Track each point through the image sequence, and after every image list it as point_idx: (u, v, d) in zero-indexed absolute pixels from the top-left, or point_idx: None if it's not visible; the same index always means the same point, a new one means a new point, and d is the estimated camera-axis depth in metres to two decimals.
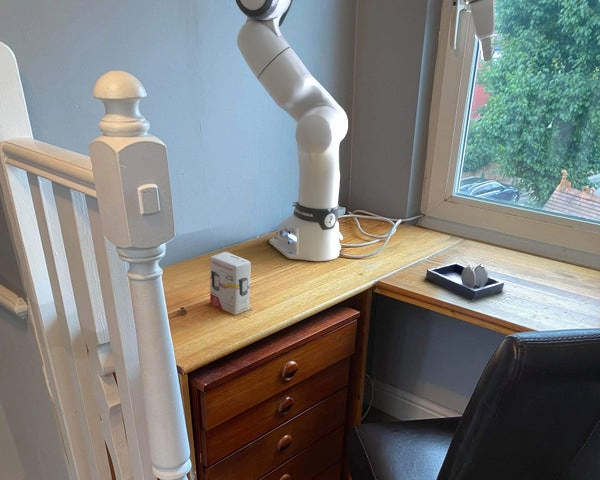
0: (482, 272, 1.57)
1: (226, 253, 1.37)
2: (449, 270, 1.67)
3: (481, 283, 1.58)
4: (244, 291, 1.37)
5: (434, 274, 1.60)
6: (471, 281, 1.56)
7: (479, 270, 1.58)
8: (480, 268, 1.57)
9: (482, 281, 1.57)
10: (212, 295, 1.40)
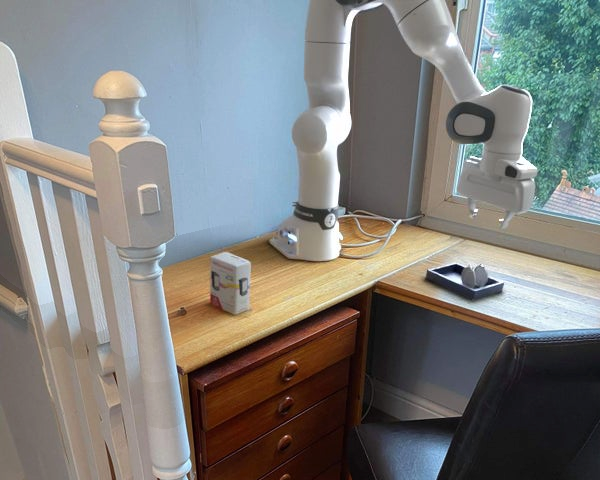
0: (482, 272, 1.57)
1: (226, 253, 1.37)
2: (449, 270, 1.67)
3: (481, 283, 1.58)
4: (244, 291, 1.37)
5: (434, 274, 1.60)
6: (471, 281, 1.56)
7: (479, 270, 1.58)
8: (480, 268, 1.57)
9: (482, 281, 1.57)
10: (212, 295, 1.40)
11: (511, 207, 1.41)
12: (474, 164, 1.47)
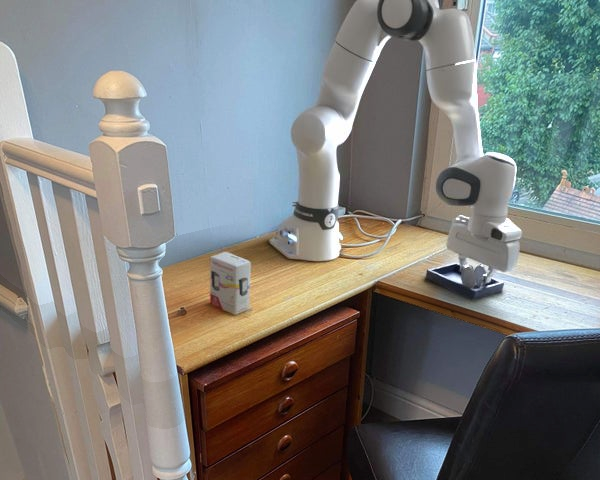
0: (482, 272, 1.57)
1: (226, 253, 1.38)
2: (449, 270, 1.67)
3: (481, 283, 1.58)
4: (244, 291, 1.37)
5: (434, 274, 1.60)
6: (471, 281, 1.56)
7: (479, 270, 1.58)
8: (480, 268, 1.57)
9: (482, 281, 1.57)
10: (212, 295, 1.40)
11: (497, 266, 1.48)
12: (462, 222, 1.55)
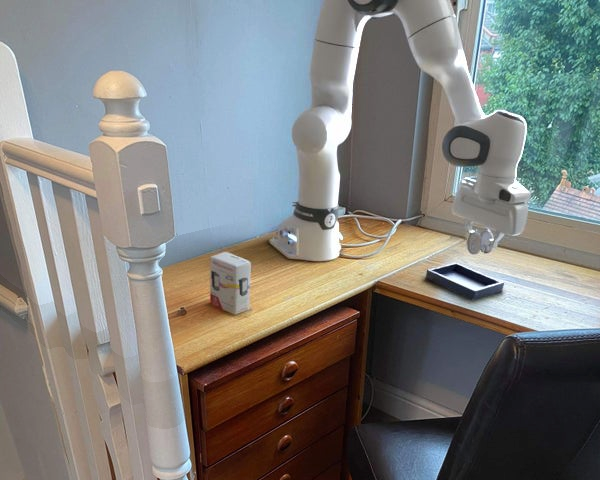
0: (488, 238, 1.52)
1: (226, 253, 1.37)
2: (449, 270, 1.67)
3: (487, 249, 1.53)
4: (244, 291, 1.37)
5: (434, 274, 1.60)
6: (477, 246, 1.51)
7: (485, 236, 1.53)
8: (486, 233, 1.52)
9: (488, 247, 1.53)
10: (212, 295, 1.40)
11: (504, 229, 1.44)
12: (469, 185, 1.50)
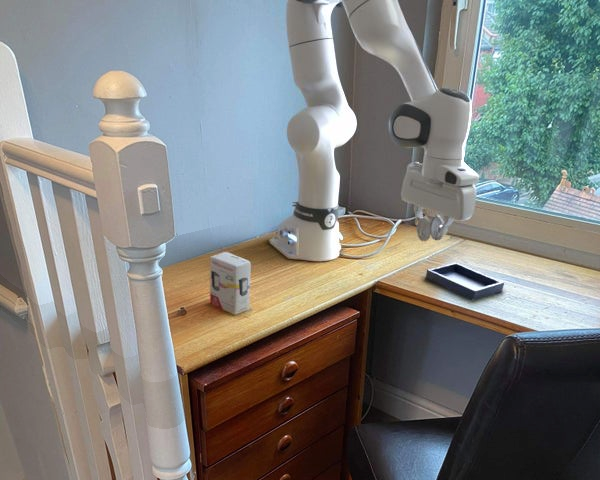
0: (439, 223, 1.45)
1: (226, 253, 1.38)
2: (449, 270, 1.67)
3: (438, 236, 1.46)
4: (244, 291, 1.37)
5: (434, 274, 1.60)
6: (426, 233, 1.44)
7: (436, 222, 1.46)
8: (436, 219, 1.46)
9: (439, 233, 1.46)
10: (212, 295, 1.40)
11: (452, 214, 1.37)
12: (417, 169, 1.43)
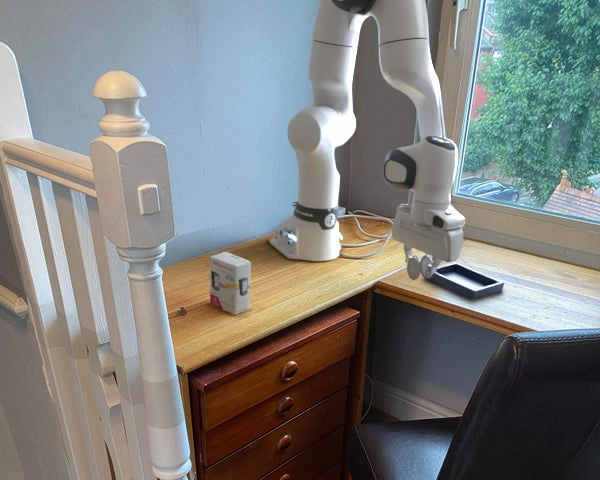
0: (428, 262, 1.50)
1: (226, 253, 1.37)
2: (449, 270, 1.67)
3: (427, 274, 1.51)
4: (244, 291, 1.37)
5: (434, 274, 1.60)
6: (416, 272, 1.49)
7: (425, 261, 1.51)
8: (426, 258, 1.50)
9: (428, 272, 1.50)
10: (212, 295, 1.40)
11: (440, 255, 1.41)
12: (406, 211, 1.48)
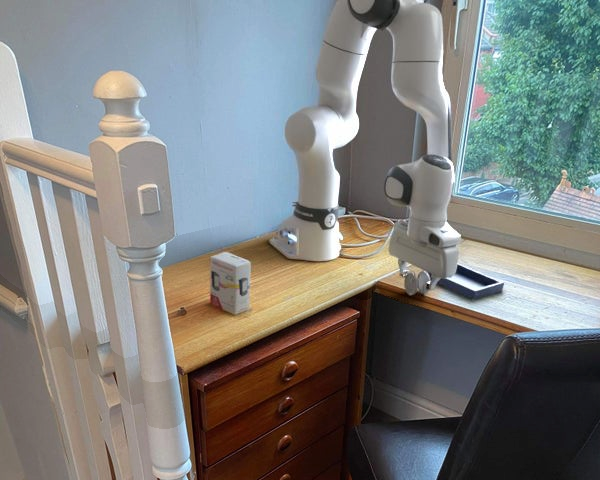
0: (425, 278, 1.52)
1: (226, 253, 1.38)
2: None
3: (424, 289, 1.53)
4: (244, 291, 1.37)
5: None
6: (413, 287, 1.51)
7: (422, 276, 1.53)
8: (423, 274, 1.53)
9: (425, 287, 1.53)
10: (212, 295, 1.40)
11: (436, 272, 1.44)
12: (403, 227, 1.50)
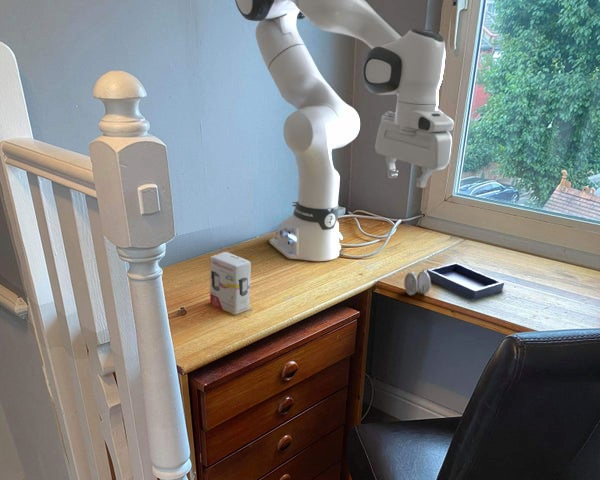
0: (425, 278, 1.52)
1: (226, 253, 1.37)
2: (449, 270, 1.67)
3: (424, 289, 1.53)
4: (244, 291, 1.37)
5: (434, 274, 1.60)
6: (413, 287, 1.51)
7: (422, 276, 1.53)
8: (423, 274, 1.53)
9: (425, 287, 1.53)
10: (212, 295, 1.40)
11: (427, 163, 1.30)
12: (391, 119, 1.37)
